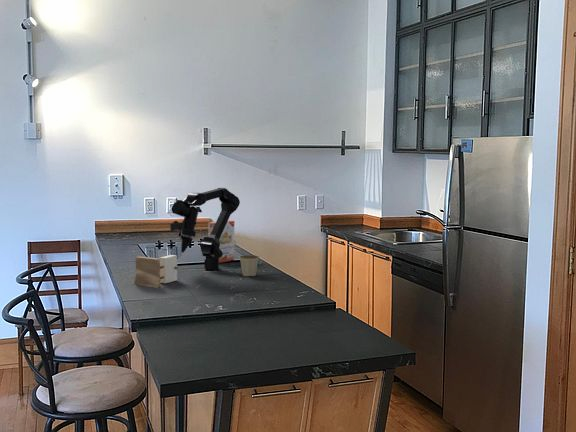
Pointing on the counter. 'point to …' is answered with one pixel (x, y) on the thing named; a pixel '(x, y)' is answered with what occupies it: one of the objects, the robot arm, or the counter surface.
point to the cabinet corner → (148, 272)
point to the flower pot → (249, 264)
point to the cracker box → (225, 241)
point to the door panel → (168, 268)
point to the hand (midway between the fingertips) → (182, 252)
